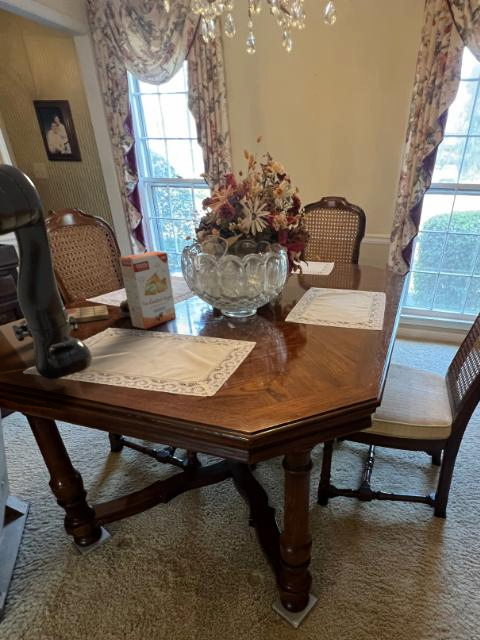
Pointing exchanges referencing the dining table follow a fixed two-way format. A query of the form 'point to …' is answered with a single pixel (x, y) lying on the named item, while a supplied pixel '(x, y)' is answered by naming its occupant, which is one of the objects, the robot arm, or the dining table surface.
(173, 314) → the cracker box
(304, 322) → the dining table surface
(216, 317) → the dining table surface
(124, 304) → the bison figurine
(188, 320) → the dining table surface
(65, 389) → the dining table surface
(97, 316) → the grid board
